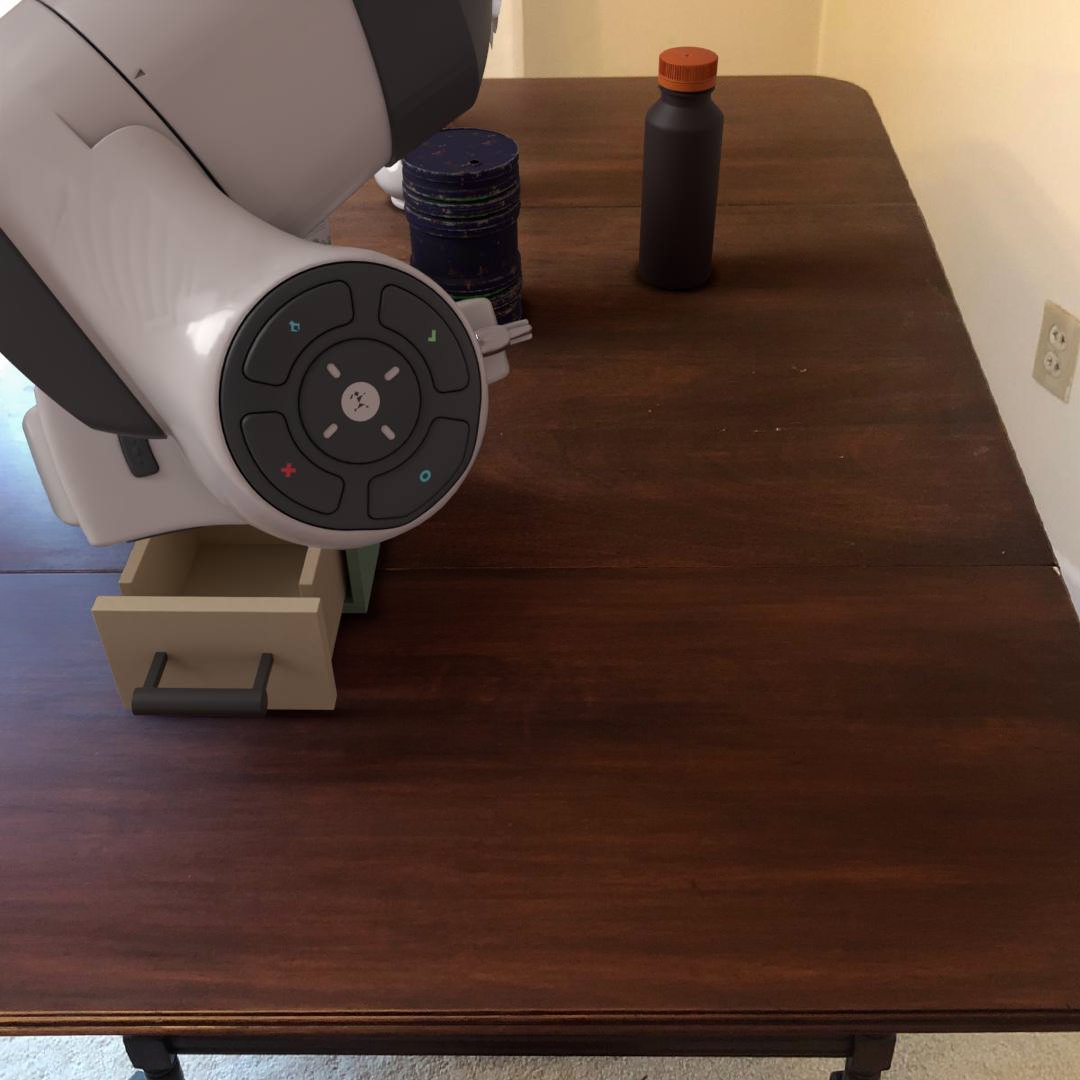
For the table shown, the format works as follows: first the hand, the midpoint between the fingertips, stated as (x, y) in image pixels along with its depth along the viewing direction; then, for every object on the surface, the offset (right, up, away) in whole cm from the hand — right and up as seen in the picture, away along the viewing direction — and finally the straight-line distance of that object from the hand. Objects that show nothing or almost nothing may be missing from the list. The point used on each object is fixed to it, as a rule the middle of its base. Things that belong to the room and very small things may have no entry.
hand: (261, 399), depth 59 cm
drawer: (-5, -13, +16) cm, 22 cm away
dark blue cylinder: (+7, +13, +50) cm, 52 cm away
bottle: (+26, +18, +55) cm, 64 cm away
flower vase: (+2, +29, +69) cm, 75 cm away
